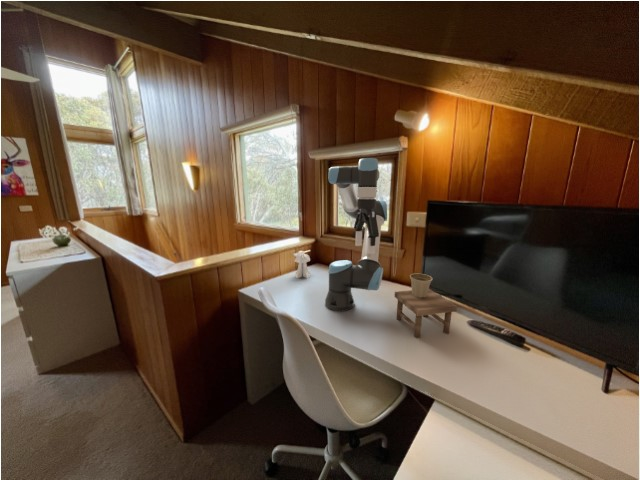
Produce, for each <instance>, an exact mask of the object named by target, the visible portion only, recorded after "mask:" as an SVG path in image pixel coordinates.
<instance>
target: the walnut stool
mask: <svg viewBox="0 0 640 480" xmlns="http://www.w3.org/2000/svg"><path fill="white" fill-rule="evenodd" d="M394 298H395V299H396V300H397V304H396V305H397V307H396V320H397V321H402V319H404V320H405V321H406V322H407V323H408V324H409V325H410V326H411V327H412V328H413V329H414V331H413V337H414V338H415V339H420V337H421V331H422V321H423V317H424V318H428V317H429V316H432V318H434V319H436V321H438V322H439V323H441V325H443V327H442V333H444V334H446V335H448V334H450V331H451V329H450V328H451V320H452V314H453V313H454V312H457V309H458V305H457V304H455V303H454V302H452V301H450V300H448V299H447V298H445V297H443V296H442V295H440V294H438V293H437V292H435V291H434V290H432V289H430V288H429V289H428V293H427V296H426V297H422V298H419V297H416V296H414V295H413V294H412V289H410V290H402V291H401V290H399V291H394ZM404 306H405V307H406V308H407V309H409V310H410V311H411V312H412V313H413V314H415V318H414V319H415V320H414V321H413V320H412V319H410V317H408V316H407V315H406V314H405V313H404V312H403V309H404ZM438 314H439V315H440V314H444V317H443V318H444V319H443V318H442V317H441V316H439V315H438Z"/></svg>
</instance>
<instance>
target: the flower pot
mask: <svg viewBox="0 0 640 480" xmlns="http://www.w3.org/2000/svg"><path fill="white" fill-rule="evenodd" d="M409 278H410V281H411V290H412V294H413V295H414V296H416V297H419V298H422V297H426V296H427V293H428V289H430V285H431V283H432V281H433V277H432V276H431V275H428V274H425V273H419V272H418V273H410V275H409Z"/></svg>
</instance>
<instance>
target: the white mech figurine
mask: <svg viewBox="0 0 640 480" xmlns="http://www.w3.org/2000/svg"><path fill="white" fill-rule="evenodd" d="M308 252H311V249H308V250H305V251H304V250H298V251H297V252H292V256H294V257H295V258H294V262H295V263H297V264H298V267H297V270H296V271H295V276H294V278H295V279H300V278H302V277H303V278H306V279H309V278H310V274H311V273H310V271H309V269H308V265H307V263H308V262H310V261H311V258H310V255H308V254H306V253H308Z"/></svg>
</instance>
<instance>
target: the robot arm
mask: <svg viewBox="0 0 640 480" xmlns="http://www.w3.org/2000/svg"><path fill="white" fill-rule="evenodd" d="M327 176H328V178H327V179H328V182H329V183H330V184H331V185H336V187H337V190H338V193H339V195H340V197H341V201H342V208H343V210H344V212H345V213H346V214H347V215H348V216H349V217H351V218H353V219H354V220H355V222H354V225H353V229H354V230H355V247H360V246H361V247H362V248H361V249H362V251H361V259H359V260H358V261H357V264H353V262H352V260H348V259H345V260H344V259H343V260H335V261H333V262H331V263H330V264H329V267H328V291H327V293H326V297H325V301H324V302H325V303H324V305H325V307H326V308H327V309H330V310H331V311H337V312H346V311H349V310H352V309H353V308H354V306H355V300H354V296H353V292H352V289H358V290H364V291H365V290H366V291H379V289H380V286H381V282H382V279H383V275H384V268H383V267H382V265H381V263H380V262H379V252H380V243H381V233H382V226H383V225H384V224H385V222H387V221H388V204H387V202H386V200H380V199H378V200H377V199H376V198H377V192H378V189H377V188H378V180H379V178H380V171H379V160H378V159H377V158H374V157H366V158H365V157H363V158H360V159H359V161H358V165H357V166H356V165H355V166H331V167H330V168H328V174H327ZM354 185H357V195H356V192H355V188H354ZM364 225H365V228H364V230H363V227H364ZM363 231H364V234H363ZM363 236H364V237H363ZM362 242H363V243H362Z"/></svg>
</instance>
